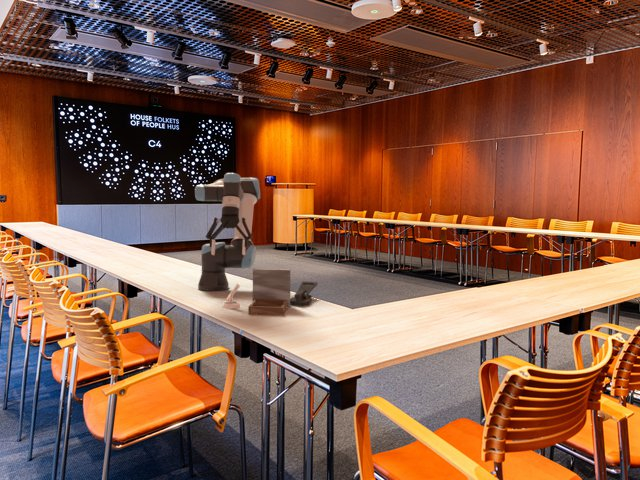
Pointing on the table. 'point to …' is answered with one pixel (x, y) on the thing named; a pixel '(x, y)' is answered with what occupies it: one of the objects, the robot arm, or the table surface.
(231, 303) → the pink door lever handle
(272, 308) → the open wooden box
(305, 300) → the zipper pull
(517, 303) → the table surface
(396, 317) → the table surface
